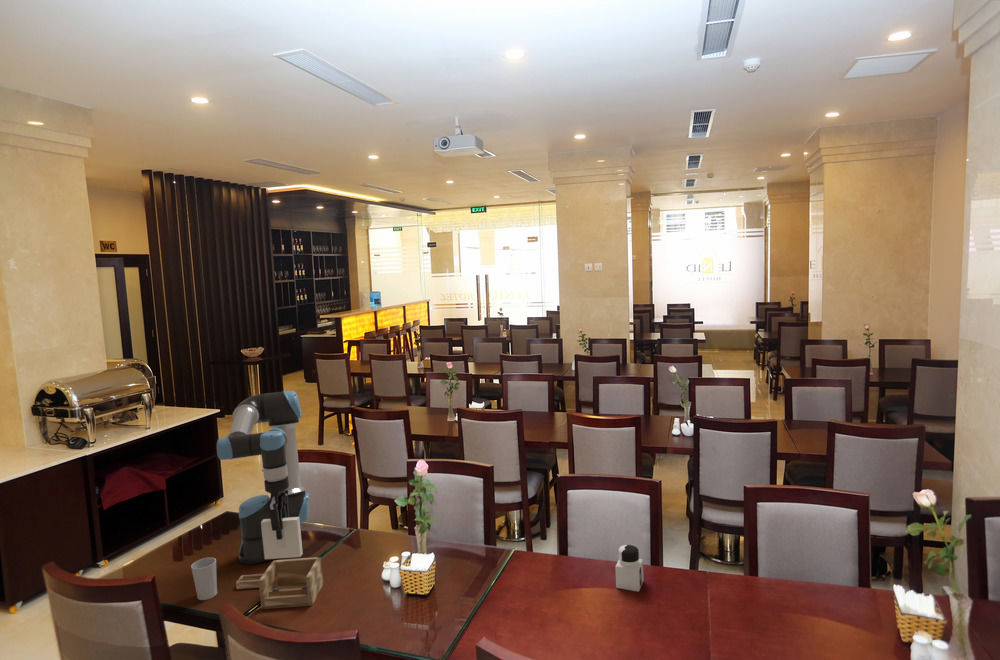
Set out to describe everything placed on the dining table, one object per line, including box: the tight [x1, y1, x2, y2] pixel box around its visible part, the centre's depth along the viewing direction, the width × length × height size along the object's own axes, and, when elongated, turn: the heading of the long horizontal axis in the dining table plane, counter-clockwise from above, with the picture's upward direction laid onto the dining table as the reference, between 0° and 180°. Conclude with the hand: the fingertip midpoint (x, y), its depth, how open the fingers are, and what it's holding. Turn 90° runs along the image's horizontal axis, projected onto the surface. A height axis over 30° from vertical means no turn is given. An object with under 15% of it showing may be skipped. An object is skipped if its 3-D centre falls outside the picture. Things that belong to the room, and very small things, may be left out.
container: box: [615, 544, 644, 592], centre depth 198 cm, size 8×8×13 cm
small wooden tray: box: [235, 573, 264, 590], centre depth 214 cm, size 5×14×2 cm, turn 92°
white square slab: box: [261, 517, 304, 560], centre depth 198 cm, size 3×12×13 cm, turn 92°
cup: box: [190, 557, 218, 601], centre depth 208 cm, size 8×8×12 cm
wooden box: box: [258, 556, 324, 610], centre depth 204 cm, size 14×17×10 cm
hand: (283, 545), depth 198 cm, fingers closed on white square slab, 2 cm apart
